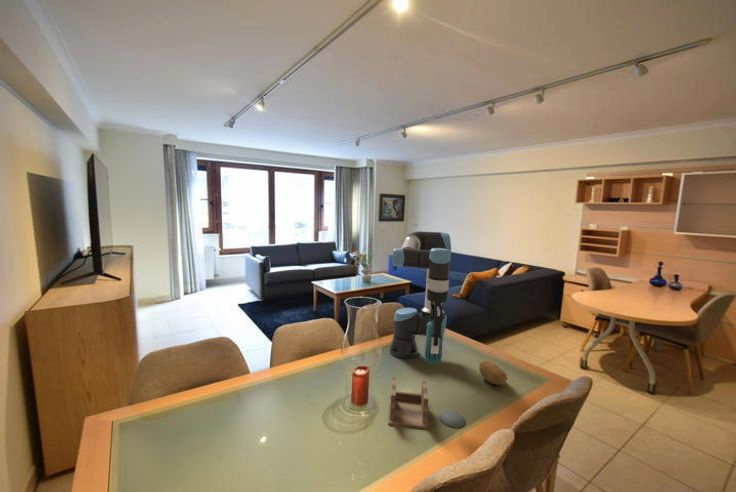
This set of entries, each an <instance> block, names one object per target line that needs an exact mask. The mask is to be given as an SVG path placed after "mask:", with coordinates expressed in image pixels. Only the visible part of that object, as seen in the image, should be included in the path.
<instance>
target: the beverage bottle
mask: <svg viewBox="0 0 736 492" xmlns="http://www.w3.org/2000/svg"><path fill="white" fill-rule="evenodd" d="M434 316H435V315H434ZM430 319H432V321H430V322H428V323H427V334H426V336H425V337H426V338H425V345H424V361H425V363H428V364H431V365H437V364H440V363H441V362H442V358H443V357H442V355H443V341H444V335H443V327H444V325H443V324H442V323H441V338H440V339H439V352H438V354H432V353H431V342H432V337H431V335H433V318H432V313H431V316H430Z"/></svg>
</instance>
